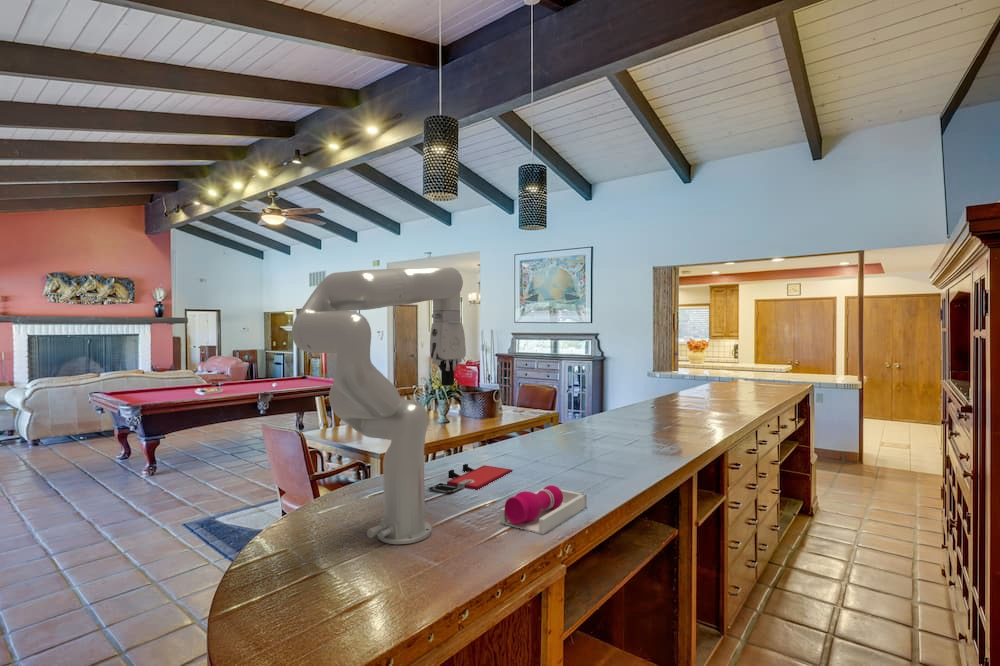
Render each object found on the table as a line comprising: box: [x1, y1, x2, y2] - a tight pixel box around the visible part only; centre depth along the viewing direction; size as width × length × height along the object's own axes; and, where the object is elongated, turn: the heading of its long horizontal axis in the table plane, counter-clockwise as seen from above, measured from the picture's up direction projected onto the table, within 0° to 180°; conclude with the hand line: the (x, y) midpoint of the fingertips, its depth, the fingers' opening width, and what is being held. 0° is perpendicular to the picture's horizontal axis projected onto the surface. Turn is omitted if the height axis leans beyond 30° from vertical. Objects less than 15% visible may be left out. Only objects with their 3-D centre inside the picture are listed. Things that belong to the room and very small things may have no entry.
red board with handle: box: [427, 463, 514, 494], centre depth 159 cm, size 30×3×15 cm
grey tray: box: [499, 487, 588, 536], centre depth 128 cm, size 22×12×4 cm, turn 143°
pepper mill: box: [504, 484, 563, 524], centre depth 127 cm, size 7×7×20 cm
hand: (447, 385), depth 136 cm, fingers closed
